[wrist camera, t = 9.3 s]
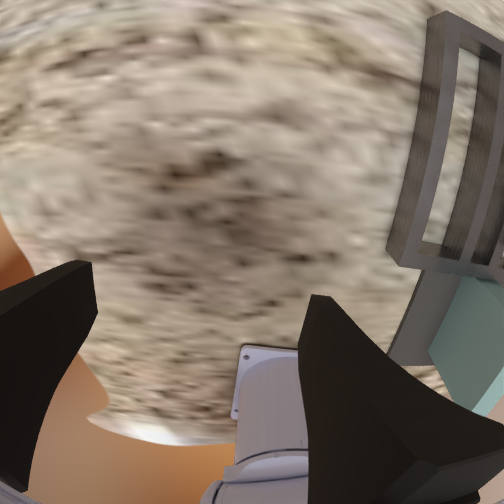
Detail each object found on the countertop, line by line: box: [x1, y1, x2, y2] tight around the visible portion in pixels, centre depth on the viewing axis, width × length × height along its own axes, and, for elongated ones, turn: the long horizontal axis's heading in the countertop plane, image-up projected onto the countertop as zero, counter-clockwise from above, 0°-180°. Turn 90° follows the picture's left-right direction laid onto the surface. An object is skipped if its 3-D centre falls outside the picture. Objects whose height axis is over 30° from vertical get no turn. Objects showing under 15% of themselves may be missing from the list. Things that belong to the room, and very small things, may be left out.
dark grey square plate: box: [387, 270, 504, 366], centre depth 22 cm, size 10×10×1 cm
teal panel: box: [428, 276, 504, 417], centre depth 18 cm, size 8×2×8 cm, turn 172°
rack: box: [386, 10, 504, 282], centre depth 16 cm, size 16×13×2 cm
